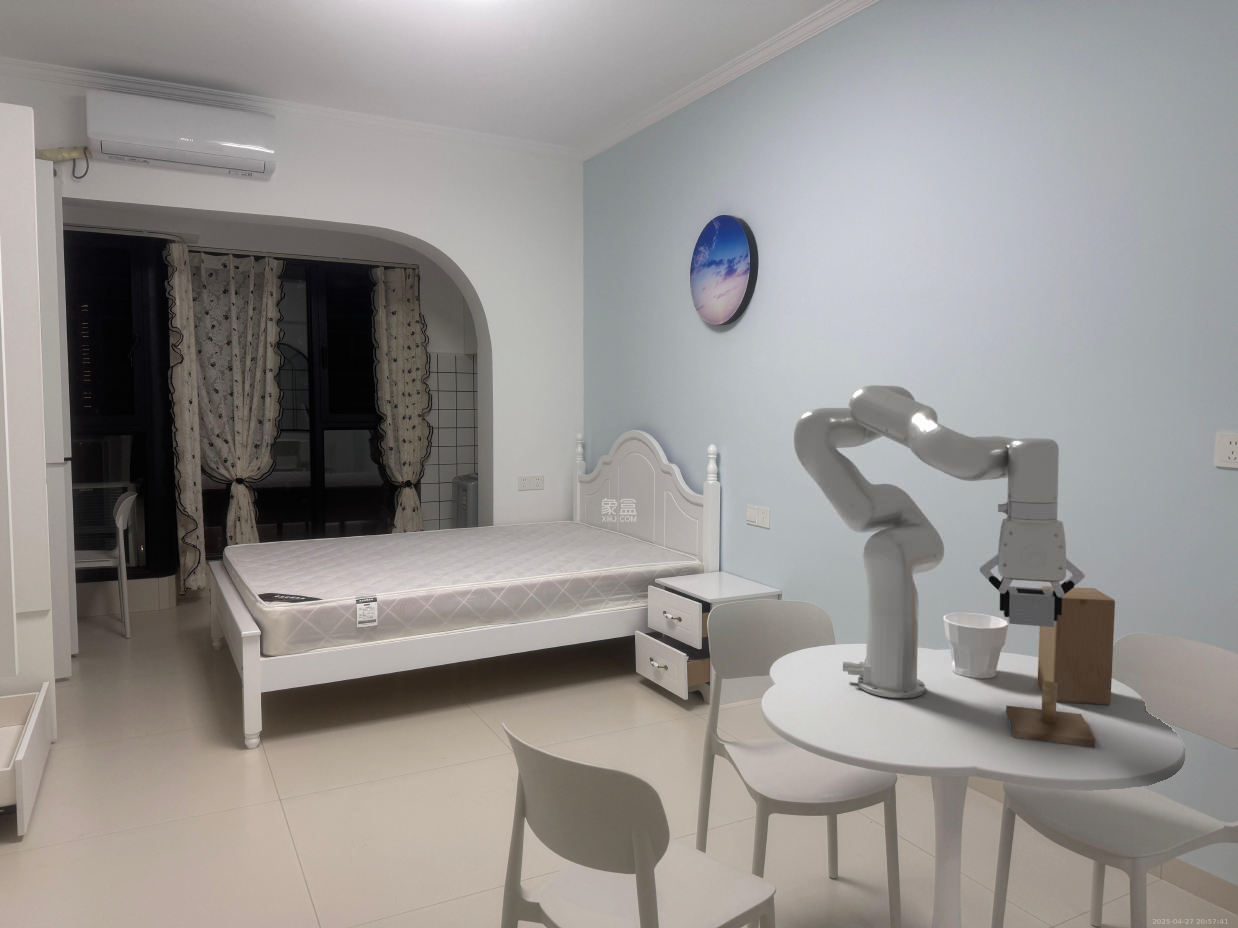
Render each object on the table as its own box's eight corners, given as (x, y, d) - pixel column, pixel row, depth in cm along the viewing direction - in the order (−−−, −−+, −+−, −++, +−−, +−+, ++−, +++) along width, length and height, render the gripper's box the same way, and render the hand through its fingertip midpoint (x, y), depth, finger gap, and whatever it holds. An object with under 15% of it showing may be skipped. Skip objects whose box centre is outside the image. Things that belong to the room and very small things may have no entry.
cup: (936, 660, 177) (937, 611, 176) (997, 664, 174) (999, 613, 173) (948, 679, 164) (949, 626, 164) (1014, 683, 162) (1016, 629, 161)
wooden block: (1111, 706, 150) (1116, 599, 149) (1052, 702, 152) (1057, 597, 151) (1091, 687, 160) (1095, 587, 158) (1036, 684, 162) (1040, 585, 160)
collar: (1009, 623, 135) (1009, 594, 135) (1006, 614, 141) (1007, 586, 141) (1053, 627, 133) (1054, 596, 132) (1049, 617, 139) (1050, 588, 139)
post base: (1013, 736, 136) (1015, 690, 135) (1006, 711, 147) (1007, 668, 147) (1095, 747, 132) (1097, 699, 131) (1080, 720, 143) (1082, 676, 143)
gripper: (976, 512, 136) (974, 617, 137) (1094, 516, 129) (1092, 627, 130) (975, 507, 143) (973, 608, 144) (1087, 511, 136) (1085, 616, 137)
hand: (1029, 616), depth 137 cm, fingers closed on collar, 6 cm apart
